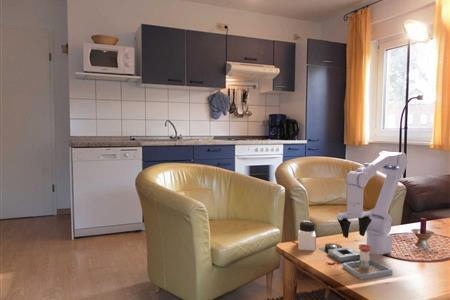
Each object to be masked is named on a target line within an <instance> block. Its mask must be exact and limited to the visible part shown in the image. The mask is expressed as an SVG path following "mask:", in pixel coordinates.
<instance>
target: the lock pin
mask: <svg viewBox="0 0 450 300" xmlns="http://www.w3.org/2000/svg"><path fill="white" fill-rule="evenodd" d="M358 249H359V253H360V266H358V269H359V270H360V271H362V272H368V271H370V264H369V259H370V253H369V252H370V250H371V247H370V246H369V245H366V244H359V245H358Z"/></svg>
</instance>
